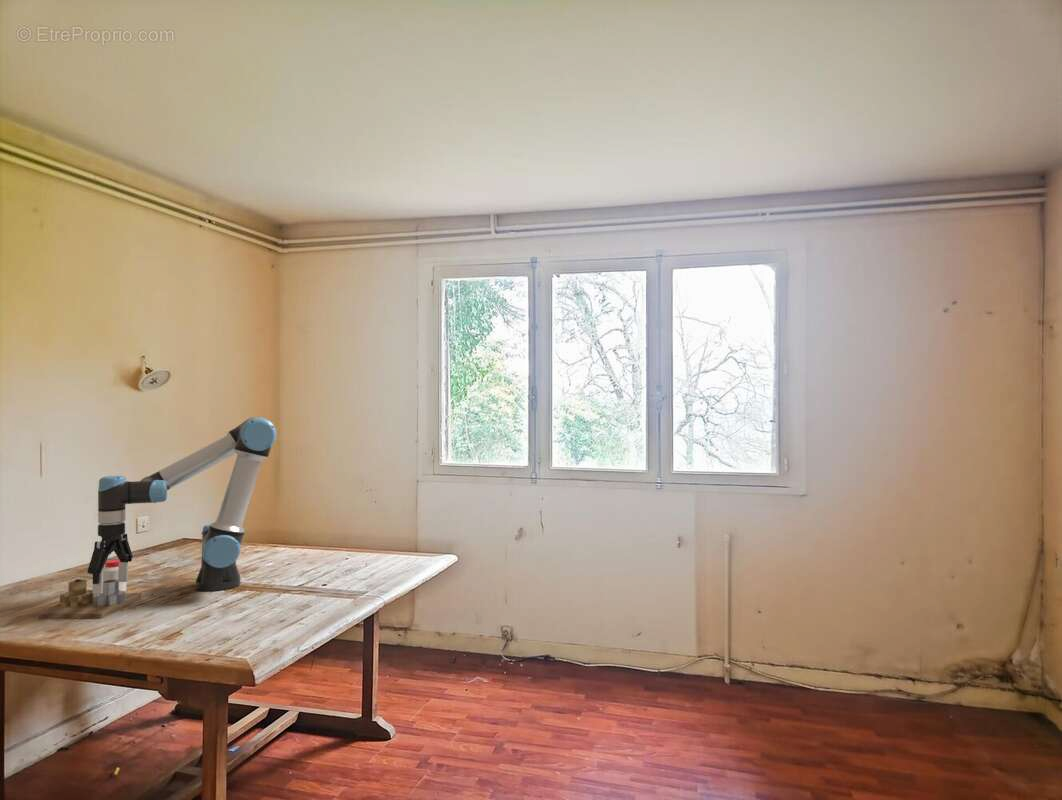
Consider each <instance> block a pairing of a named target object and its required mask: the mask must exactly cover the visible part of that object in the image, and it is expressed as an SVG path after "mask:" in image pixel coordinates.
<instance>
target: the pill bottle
mask: <svg viewBox="0 0 1062 800" xmlns="http://www.w3.org/2000/svg"><path fill="white" fill-rule="evenodd" d="M120 562H121V561H120V560H119V558H118V559H110V560H106V562H105V565H104V567H103V569H102V571H101V573H103V581H105V580H111V579H117V580H118V567H119V563H120ZM119 590H120V591H123V590H124V591H125V592H126V591H127V582H119Z"/></svg>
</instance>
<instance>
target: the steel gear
mask: <svg viewBox="0 0 1062 800" xmlns="http://www.w3.org/2000/svg"><path fill="white" fill-rule="evenodd" d="M125 593H126V591H124V590H123V591H120V590H119V580H117V579H111V580H105V581H103V593H102V594H93V596H92V605H93V606H97V607H104V606H114V605H116V604H121V603H123V602H124V601H125Z"/></svg>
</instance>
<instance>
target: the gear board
mask: <svg viewBox="0 0 1062 800" xmlns="http://www.w3.org/2000/svg"><path fill="white" fill-rule="evenodd" d="M87 585H88V583H87V579H81V578H76V579H74V580H70V581H68V588H67V589H68V591H67V592H65V593H63V594H60V595H59V604H57V605H55V606H52V607H50V608H48V609H46V610H42V611H40V612H38V613H37V619H103V618H105V617H107V616H109V615H110V614H113V613H114V612H116V611H118V610H120V609H122V608H124V607H126V606H128V605H130V604H132V603H133V602H136V601H138V600H139V599H142V596H143V593H141V592H131V593H130V592H128V593H127V592H125V601H124V602H123V603H121V604H116V605H114V606H104V607H97V606H93V605H92V596H93V589H92V590H91V589H87Z"/></svg>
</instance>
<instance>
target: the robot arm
mask: <svg viewBox="0 0 1062 800" xmlns="http://www.w3.org/2000/svg"><path fill="white" fill-rule="evenodd" d="M276 439H277V430H276V427H275V425H274V424H273V423H272V422H271V421H270V420H269V419H267V418H264V417H259V416H256V417H250V418H247V419H246V420H244V421H243V422H242V423H240V424H239V425H237V426H236V427H234V428H233V429H231V430H229V431H227V433H226V435H225V436H224V437H221V438H220V439H218V440H216V441H214V442H212V443H210V444H208V445H206V446H204V447H202V448H200V449H198V450H196V451H194V452H193V453H190V454H189V455H187V456H185V457H183V458H180V459H179V460H177V461H175V462H173V463H171V464H170V465H167V466H166V467H163V468H162V469H160V470H158V471H157V472H154V473H153V474H150V475H148V476H145V477H143V478H142V479H140V480H138V481H136V480H135V481H129V480H128V481H127V478H126V476H125V475H107V476H106V475H105V476H102V477H101V478H100V479H99V480H98V488H97V489H98V491H97V499H98V500H97V511H98V513H97V524H98V525H97V536H98V537H101V540H100V541H95V542H94V544H93V545H94V547H93V551H92V554H91V557H90V561H89V565H88V568H87V571H86V572H87V573H88V574H89V575H92V590H93V591H92V592H93V594H102V593H103V573H101V571H102V569H103V567H105V562H106V561H108V558H109V556H110V555H111V554H112V553H113V552H114V554H115V555H116V556H117V558H118V559H119V560H120V561H121V562H120V563H119V567H118V580H119V582H126V583H127V582H129V581H128V580H129V562H132V560H133V557H134V555H133V553H132V549H131V547H130V543H129V540H128V538H129V537H128V534H127V533H126V523H125V521H126V505H132V504H133V505H134V504H135V505H136V504H151V503H153V504H156V503H163V502H166V501H167V498H168V491H169V490H171V489H172V488H174V487H176V486H178V485H180V484H182V483H183V482H185V481H187V480H189V479H191V478H192V477H195V476H197V475H199V474H200V473H202V472H204V471H206V470H208V469H210V468H212V467H213V466H216V465H218V464H219V463H221V462H223V461H224V460H225V461H226V460H227V459H228V458H230V457H233V456H234V455H236V459H235V461H234V464H233V465H234V466H233V469H232V471H231V474H230V478H229V481H228V484H227V487H226V491H225V492H224V497H223V500H222V502H221V506H220V508H219V512H218V515H217V517H216V520H215V521H214V522H212V523H210V524H206V525H204V526H203V527H202V531H201V535H202V536H201V540H202V541H201V561H200V562H201V566H200V569H199V571H198V574H197V576H196V580H195V581H194V582H195V585H194V587H195V589H196V590H198V591H206V592H210V591H211V592H216V591H223V590H224V591H225V590H228V589H233V588H235V587H238V586H240V585H241V581H242V579H241V578H242V577H241V575H240V574H241V573H240V571H239V569H238V566H237V559H238V558H239V557H240V554H241V545H242V541H243V539H244V536H245V533H246V530H245V529H244V527H243V523H244V521H245V516H246V513H247V511H248V507H249V504H250V502H251V498H252V495H253V493H254V489H255V486H256V482H257V478H258V475H259V472H260V469H261V467H262V463H263V461H265V460H266V459H268V458H269V455H270V452H271V448H272V446H273V444H274V443H275V441H276Z"/></svg>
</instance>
